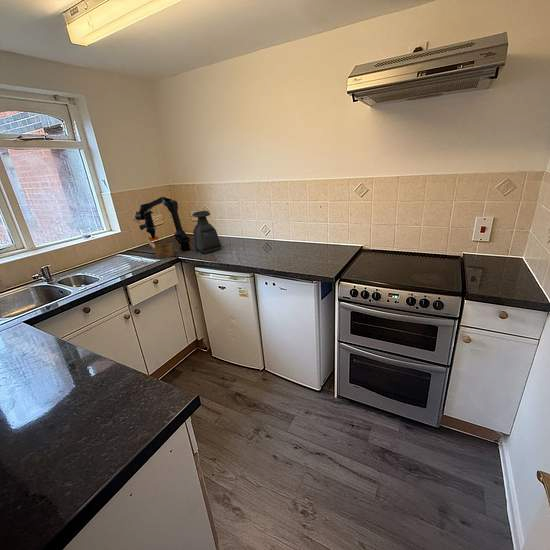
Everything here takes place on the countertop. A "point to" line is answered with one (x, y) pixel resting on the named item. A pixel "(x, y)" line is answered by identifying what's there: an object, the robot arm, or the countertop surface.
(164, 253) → the carton
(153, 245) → the flap
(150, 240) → the packet
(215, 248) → the bottle
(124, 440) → the countertop surface
